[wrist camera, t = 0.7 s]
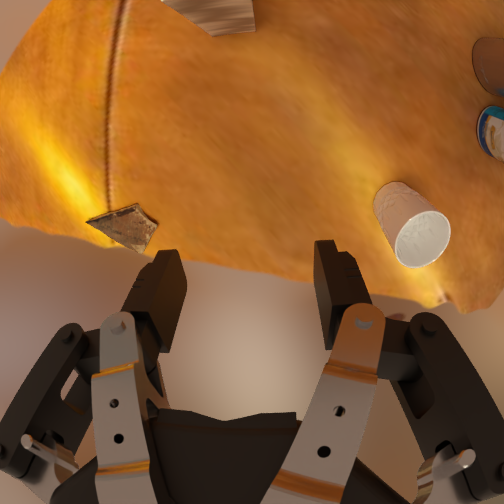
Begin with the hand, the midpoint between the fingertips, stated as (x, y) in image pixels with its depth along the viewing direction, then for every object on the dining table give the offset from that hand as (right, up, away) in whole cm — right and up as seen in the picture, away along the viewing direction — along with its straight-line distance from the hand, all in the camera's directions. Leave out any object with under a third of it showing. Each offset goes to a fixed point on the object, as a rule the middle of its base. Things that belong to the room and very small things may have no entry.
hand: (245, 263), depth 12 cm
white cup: (+20, +8, +25) cm, 33 cm away
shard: (-19, +4, +30) cm, 36 cm away
